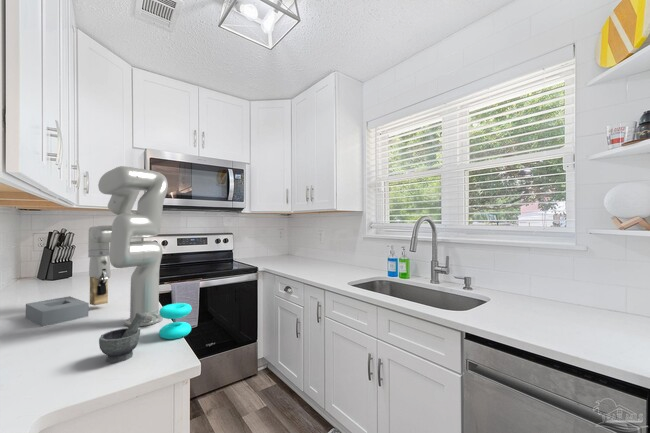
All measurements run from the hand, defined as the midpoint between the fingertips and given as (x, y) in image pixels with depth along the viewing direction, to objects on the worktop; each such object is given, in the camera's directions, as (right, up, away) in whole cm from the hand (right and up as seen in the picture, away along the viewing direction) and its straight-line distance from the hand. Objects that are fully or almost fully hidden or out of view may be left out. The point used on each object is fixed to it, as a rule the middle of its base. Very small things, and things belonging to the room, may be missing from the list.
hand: (98, 293), depth 130 cm
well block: (-8, -6, -12) cm, 16 cm away
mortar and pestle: (+44, -6, -47) cm, 64 cm away
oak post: (0, -5, 0) cm, 5 cm away
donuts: (+50, -7, -30) cm, 59 cm away
